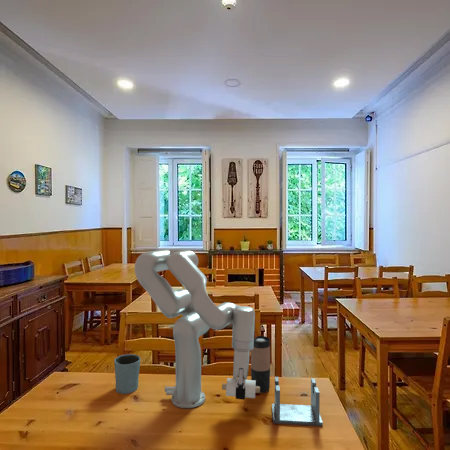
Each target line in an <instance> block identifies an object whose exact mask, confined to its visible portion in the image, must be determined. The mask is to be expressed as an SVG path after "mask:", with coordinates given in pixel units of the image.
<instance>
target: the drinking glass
mask: <svg viewBox="0 0 450 450" xmlns="http://www.w3.org/2000/svg"><path fill="white" fill-rule="evenodd" d="M113 360H114V362H113V363H114V374H115V376H114V378H115V391H116V393H117V394H120V393H121V394H120V395H128V394H131V393H134V392H136V391H137V390H138V389H137V388H139V383H140V382H139V376H140V368H141V356H139V355H137V354H134V353H133V354H132V353H127V354H121V355H119V356H116V358H114V359H113Z"/></svg>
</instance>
